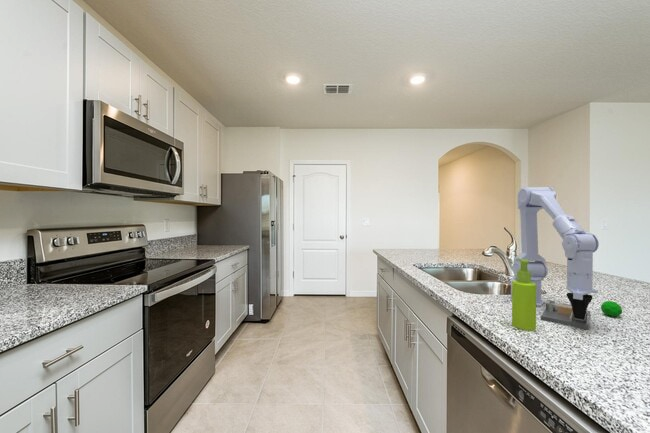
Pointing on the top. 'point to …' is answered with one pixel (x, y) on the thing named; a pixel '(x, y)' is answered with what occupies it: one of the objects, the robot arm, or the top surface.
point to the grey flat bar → (562, 306)
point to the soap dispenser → (524, 299)
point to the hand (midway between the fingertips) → (579, 318)
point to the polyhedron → (611, 309)
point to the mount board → (563, 316)
